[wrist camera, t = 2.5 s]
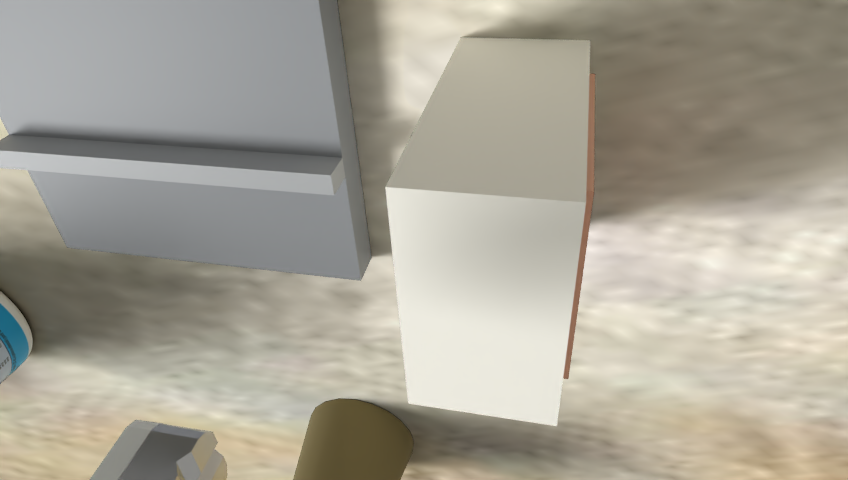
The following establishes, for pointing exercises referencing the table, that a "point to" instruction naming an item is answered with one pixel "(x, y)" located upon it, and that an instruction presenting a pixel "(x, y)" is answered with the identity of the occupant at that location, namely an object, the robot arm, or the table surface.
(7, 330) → the beverage bottle
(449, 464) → the table surface
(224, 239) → the shelf board
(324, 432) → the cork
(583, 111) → the carton
